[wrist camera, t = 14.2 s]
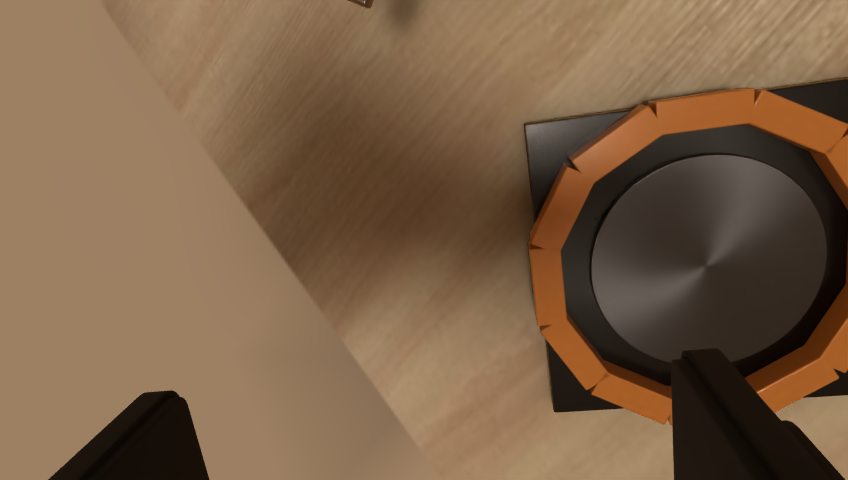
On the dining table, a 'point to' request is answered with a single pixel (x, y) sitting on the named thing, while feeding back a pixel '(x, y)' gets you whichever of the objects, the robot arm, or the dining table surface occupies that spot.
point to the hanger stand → (363, 3)
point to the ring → (759, 109)
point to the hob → (696, 245)
